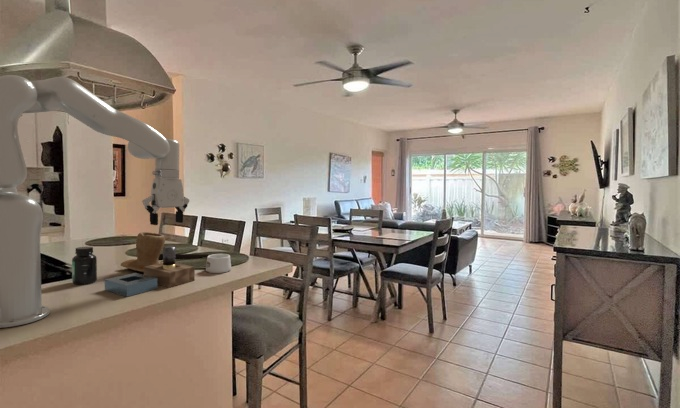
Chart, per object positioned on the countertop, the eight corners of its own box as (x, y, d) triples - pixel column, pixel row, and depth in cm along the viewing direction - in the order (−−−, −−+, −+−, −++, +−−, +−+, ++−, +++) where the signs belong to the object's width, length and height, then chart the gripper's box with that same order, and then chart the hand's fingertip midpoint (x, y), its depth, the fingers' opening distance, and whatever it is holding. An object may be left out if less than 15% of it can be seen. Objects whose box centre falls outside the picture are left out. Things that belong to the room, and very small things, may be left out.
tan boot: (171, 269, 141) (171, 232, 140) (141, 276, 130) (141, 236, 129) (149, 264, 148) (148, 228, 147) (119, 269, 138) (119, 231, 137)
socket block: (126, 296, 108) (126, 285, 107) (104, 290, 113) (104, 279, 113) (157, 288, 116) (157, 278, 116) (135, 282, 122) (135, 272, 122)
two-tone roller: (167, 282, 123) (167, 248, 122) (160, 281, 125) (160, 247, 124) (177, 280, 126) (177, 247, 126) (170, 278, 128) (170, 245, 128)
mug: (235, 271, 142) (235, 256, 141) (212, 275, 135) (212, 259, 134) (221, 265, 150) (221, 251, 150) (198, 269, 143) (198, 254, 143)
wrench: (213, 263, 161) (138, 265, 145) (210, 261, 166) (137, 263, 149) (214, 251, 161) (139, 252, 145) (211, 250, 166) (138, 251, 149)
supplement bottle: (69, 286, 116) (69, 250, 115) (75, 280, 122) (74, 246, 122) (94, 284, 119) (94, 249, 118) (98, 278, 125) (98, 245, 125)
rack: (169, 287, 118) (169, 272, 118) (143, 280, 125) (143, 266, 124) (194, 280, 127) (194, 266, 126) (169, 274, 133) (169, 261, 133)
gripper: (150, 174, 114) (150, 226, 115) (195, 176, 129) (195, 222, 130) (136, 173, 117) (136, 224, 118) (181, 175, 133) (181, 220, 134)
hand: (167, 223), depth 124 cm, fingers open, 9 cm apart
